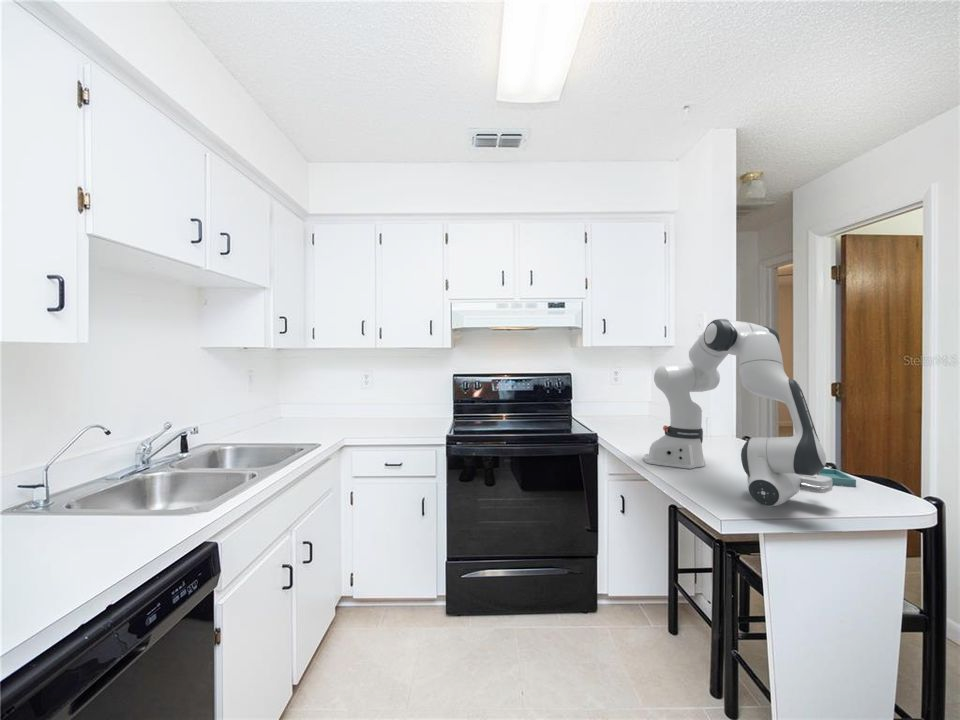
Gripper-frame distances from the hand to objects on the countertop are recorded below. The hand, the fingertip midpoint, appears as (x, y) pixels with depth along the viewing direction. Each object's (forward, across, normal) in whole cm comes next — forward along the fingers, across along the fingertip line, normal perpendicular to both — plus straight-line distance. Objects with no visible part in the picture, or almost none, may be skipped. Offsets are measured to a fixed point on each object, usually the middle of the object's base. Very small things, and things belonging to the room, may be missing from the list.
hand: (795, 473), depth 133 cm
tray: (+27, -1, +7) cm, 28 cm away
